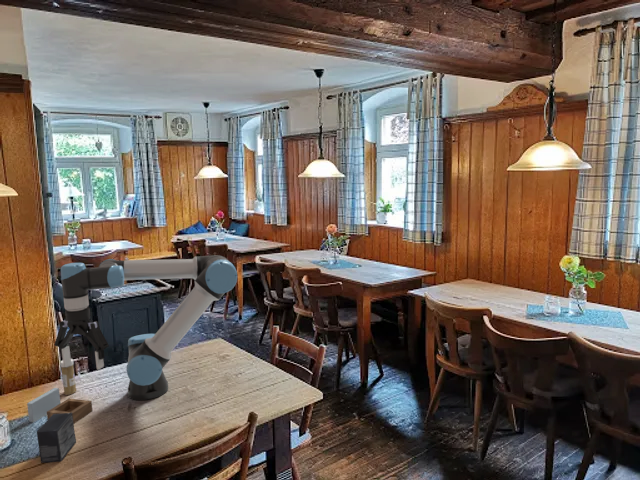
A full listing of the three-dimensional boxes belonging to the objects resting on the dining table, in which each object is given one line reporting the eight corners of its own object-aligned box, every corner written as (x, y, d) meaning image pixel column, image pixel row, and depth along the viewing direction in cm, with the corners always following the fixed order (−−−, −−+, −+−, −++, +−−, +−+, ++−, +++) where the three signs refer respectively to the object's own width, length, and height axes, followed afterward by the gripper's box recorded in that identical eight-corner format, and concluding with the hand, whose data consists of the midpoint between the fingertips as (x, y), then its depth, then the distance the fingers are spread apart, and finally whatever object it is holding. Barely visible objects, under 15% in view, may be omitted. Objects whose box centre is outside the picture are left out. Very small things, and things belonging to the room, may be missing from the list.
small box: (56, 443, 149) (52, 413, 148) (77, 442, 150) (73, 411, 148) (39, 463, 139) (35, 431, 137) (61, 461, 139) (58, 429, 138)
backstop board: (60, 405, 174) (58, 388, 173) (34, 422, 163) (31, 403, 162) (56, 405, 175) (54, 387, 174) (29, 421, 163) (27, 403, 162)
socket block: (92, 411, 169) (91, 400, 169) (71, 425, 160) (70, 414, 159) (69, 408, 172) (68, 398, 171) (48, 422, 162) (46, 411, 162)
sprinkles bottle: (77, 393, 184) (73, 360, 182) (64, 396, 182) (60, 363, 180) (75, 388, 188) (72, 357, 186) (63, 391, 186) (59, 360, 184)
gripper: (115, 306, 160) (121, 364, 163) (55, 303, 166) (62, 360, 169) (100, 312, 152) (107, 373, 156) (38, 309, 158) (45, 368, 161)
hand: (83, 366), depth 162 cm, fingers open, 13 cm apart
